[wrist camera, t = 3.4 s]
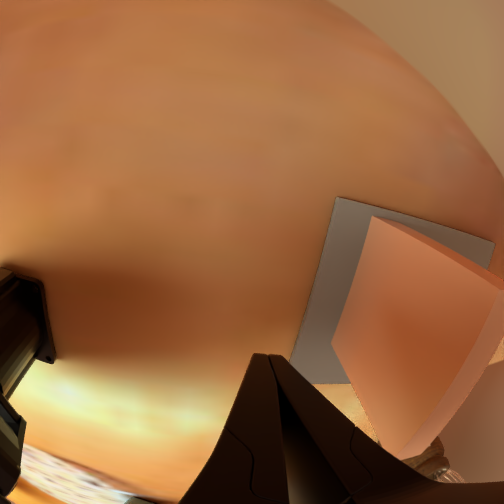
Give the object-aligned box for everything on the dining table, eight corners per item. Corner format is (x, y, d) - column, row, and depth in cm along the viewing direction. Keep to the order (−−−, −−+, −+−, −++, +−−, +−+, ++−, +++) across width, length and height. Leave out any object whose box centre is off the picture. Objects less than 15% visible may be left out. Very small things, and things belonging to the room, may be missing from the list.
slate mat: (434, 373, 20) (436, 375, 20) (283, 379, 18) (284, 383, 18) (492, 241, 16) (495, 243, 16) (336, 196, 14) (339, 197, 14)
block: (358, 344, 17) (423, 453, 9) (330, 343, 17) (389, 462, 9) (401, 222, 15) (524, 293, 6) (371, 215, 15) (499, 289, 6)
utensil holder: (433, 418, 23) (481, 496, 12) (390, 452, 24) (426, 532, 13) (411, 407, 21) (466, 502, 10) (362, 446, 23) (400, 541, 12)
